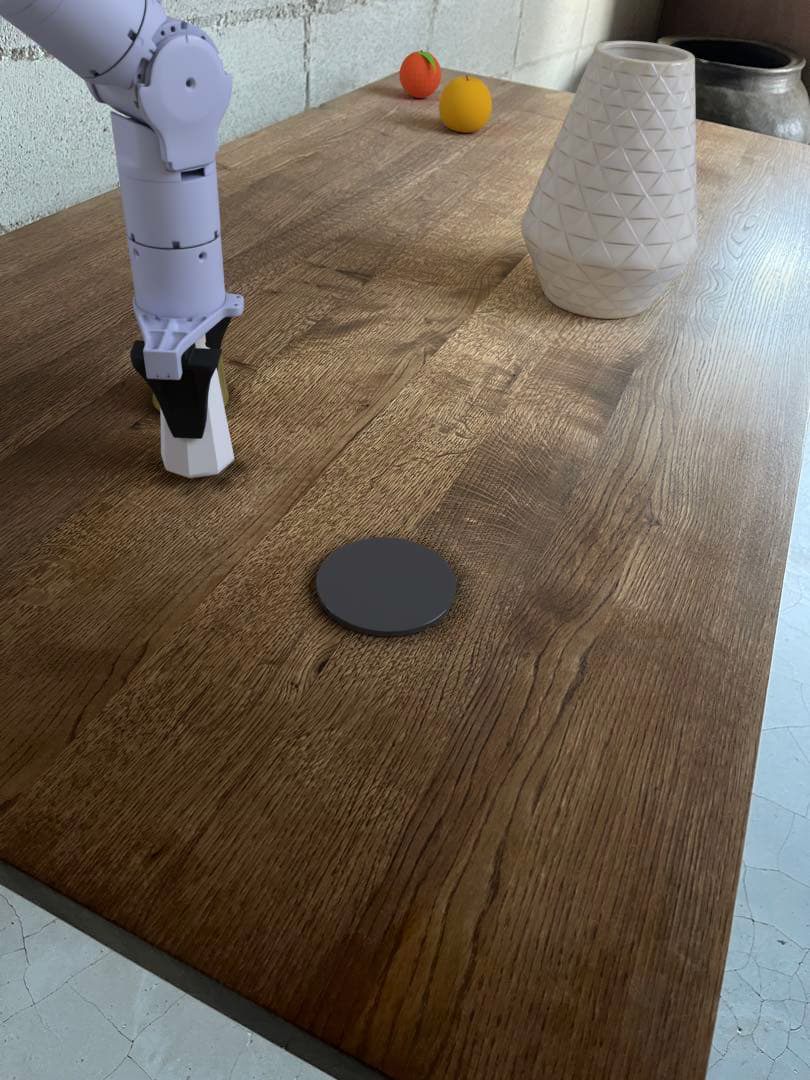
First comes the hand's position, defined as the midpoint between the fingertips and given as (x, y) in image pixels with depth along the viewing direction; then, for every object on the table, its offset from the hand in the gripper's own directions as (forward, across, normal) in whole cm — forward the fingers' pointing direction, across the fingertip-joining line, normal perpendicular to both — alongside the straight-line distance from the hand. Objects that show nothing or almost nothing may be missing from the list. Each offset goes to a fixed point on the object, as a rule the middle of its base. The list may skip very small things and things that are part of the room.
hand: (193, 419), depth 66 cm
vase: (+4, +34, -36) cm, 49 cm away
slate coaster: (+4, -13, -14) cm, 19 cm away
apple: (+4, +92, -26) cm, 95 cm away
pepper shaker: (+4, 0, 0) cm, 4 cm away
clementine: (+4, +108, -20) cm, 110 cm away
